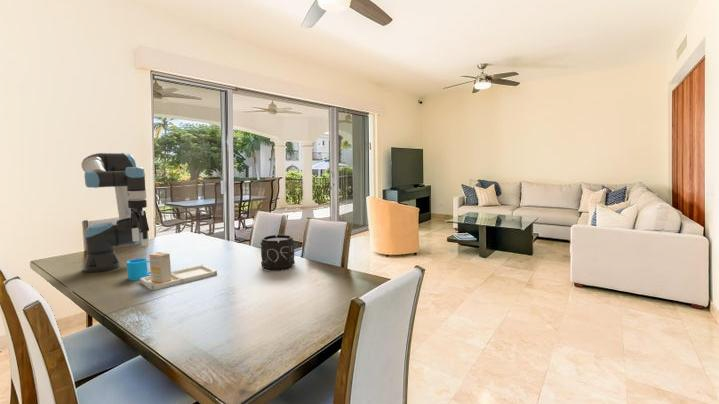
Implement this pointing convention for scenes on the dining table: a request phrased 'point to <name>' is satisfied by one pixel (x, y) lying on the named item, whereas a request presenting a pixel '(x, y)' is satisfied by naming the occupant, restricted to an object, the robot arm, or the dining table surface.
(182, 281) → the organiser tray
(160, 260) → the supplement box
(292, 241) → the black cylindrical pot
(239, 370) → the dining table surface
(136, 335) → the dining table surface
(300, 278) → the dining table surface
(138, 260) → the mug
